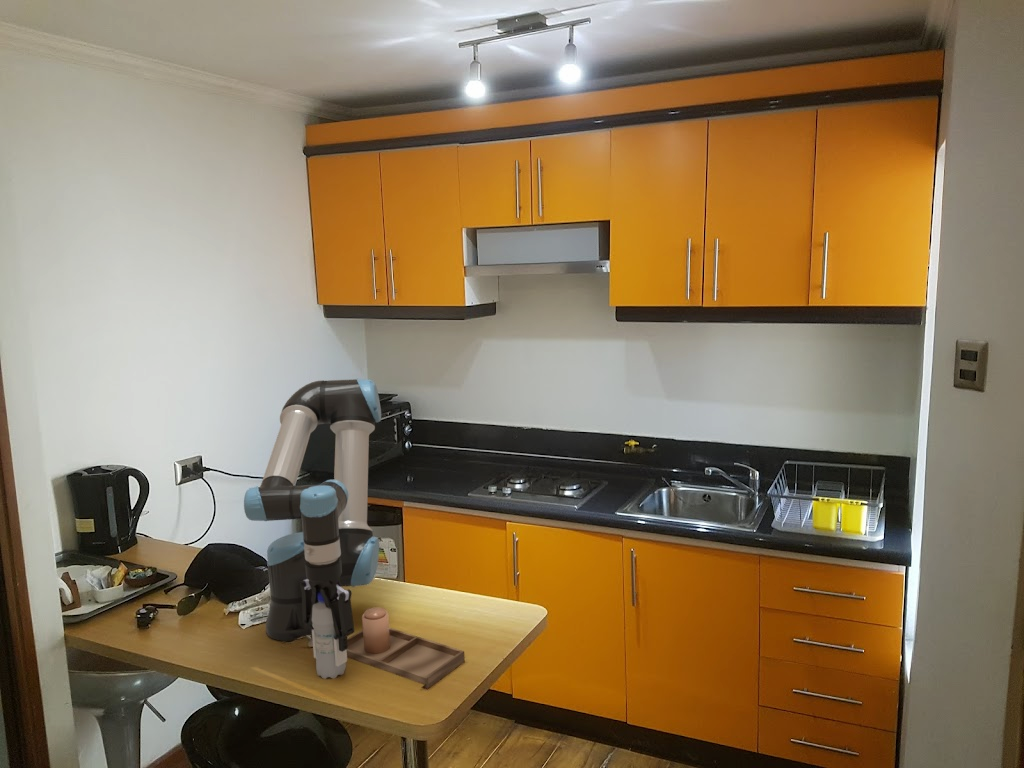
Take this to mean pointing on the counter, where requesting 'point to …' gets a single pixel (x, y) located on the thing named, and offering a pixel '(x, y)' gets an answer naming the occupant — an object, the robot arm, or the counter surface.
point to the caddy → (409, 657)
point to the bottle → (325, 641)
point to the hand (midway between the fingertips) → (330, 659)
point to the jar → (376, 630)
